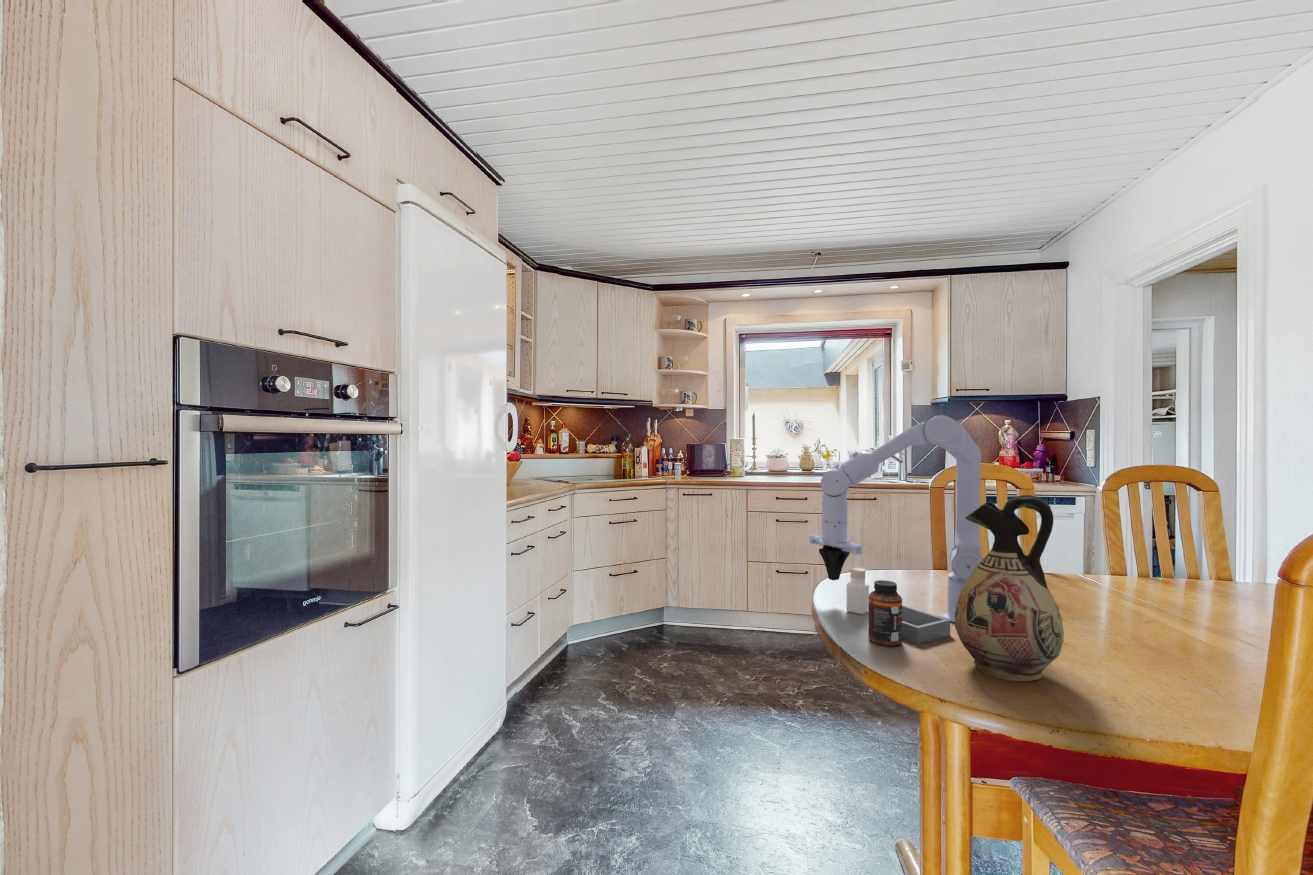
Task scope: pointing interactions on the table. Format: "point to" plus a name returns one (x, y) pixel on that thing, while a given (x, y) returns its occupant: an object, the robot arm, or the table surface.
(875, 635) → the supplement bottle
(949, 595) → the robot arm
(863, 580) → the pepper shaker
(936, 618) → the box
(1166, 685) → the table surface
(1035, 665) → the ceramic jug
